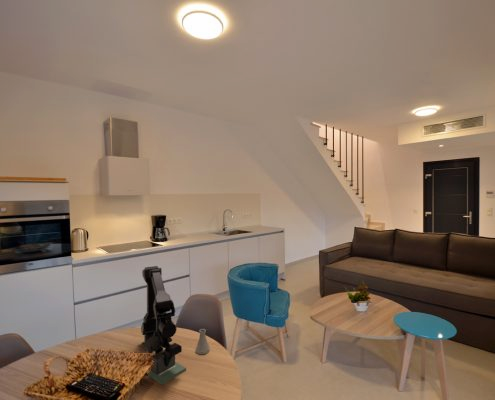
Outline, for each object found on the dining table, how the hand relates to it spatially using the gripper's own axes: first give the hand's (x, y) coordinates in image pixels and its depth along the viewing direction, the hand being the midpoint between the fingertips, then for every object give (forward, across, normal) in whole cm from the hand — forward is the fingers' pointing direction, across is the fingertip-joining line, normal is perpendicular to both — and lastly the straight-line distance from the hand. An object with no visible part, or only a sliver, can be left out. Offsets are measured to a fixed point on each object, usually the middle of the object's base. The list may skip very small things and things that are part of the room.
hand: (163, 364), depth 118 cm
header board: (+2, 0, 0) cm, 2 cm away
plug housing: (+2, 0, 0) cm, 2 cm away
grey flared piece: (+3, +2, +21) cm, 21 cm away
